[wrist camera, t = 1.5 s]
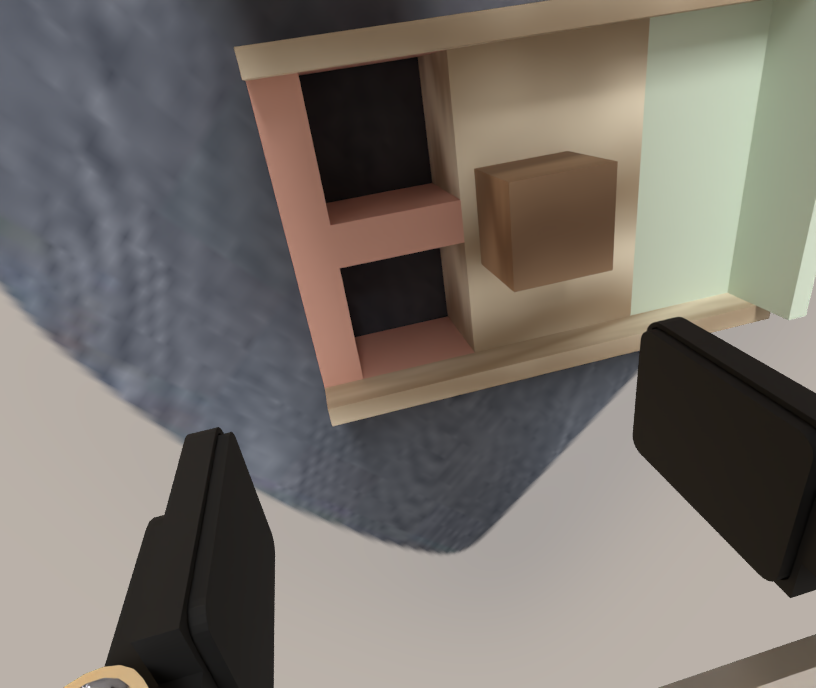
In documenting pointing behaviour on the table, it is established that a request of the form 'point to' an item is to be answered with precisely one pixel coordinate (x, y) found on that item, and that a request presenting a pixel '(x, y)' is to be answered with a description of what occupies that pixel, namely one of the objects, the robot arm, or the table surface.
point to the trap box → (547, 134)
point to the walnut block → (547, 218)
